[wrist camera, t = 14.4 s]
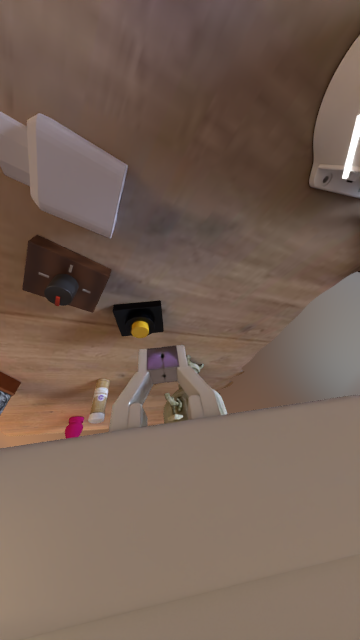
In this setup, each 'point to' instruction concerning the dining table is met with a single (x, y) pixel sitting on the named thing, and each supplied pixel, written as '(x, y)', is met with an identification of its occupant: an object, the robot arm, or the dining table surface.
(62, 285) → the dial
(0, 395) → the whiskey bottle
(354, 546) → the robot arm
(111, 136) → the dining table surface
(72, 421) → the pepper mill
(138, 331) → the button
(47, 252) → the control panel
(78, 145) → the charger
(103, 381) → the sprinkles bottle
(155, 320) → the button housing
